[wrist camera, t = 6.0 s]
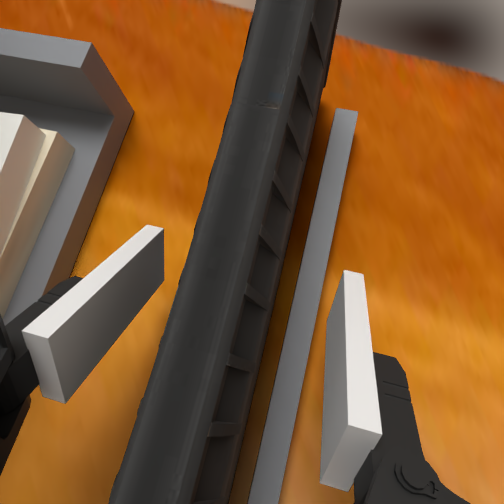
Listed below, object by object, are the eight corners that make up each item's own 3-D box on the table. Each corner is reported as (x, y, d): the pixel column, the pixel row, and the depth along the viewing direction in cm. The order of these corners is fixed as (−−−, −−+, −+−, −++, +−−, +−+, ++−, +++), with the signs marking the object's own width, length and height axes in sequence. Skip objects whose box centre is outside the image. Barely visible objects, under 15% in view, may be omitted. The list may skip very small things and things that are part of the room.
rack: (-239, 539, 16) (-462, 626, 11) (5, 67, 22) (-69, -7, 18) (226, 736, 13) (197, 972, 8) (352, 128, 19) (377, 59, 15)
